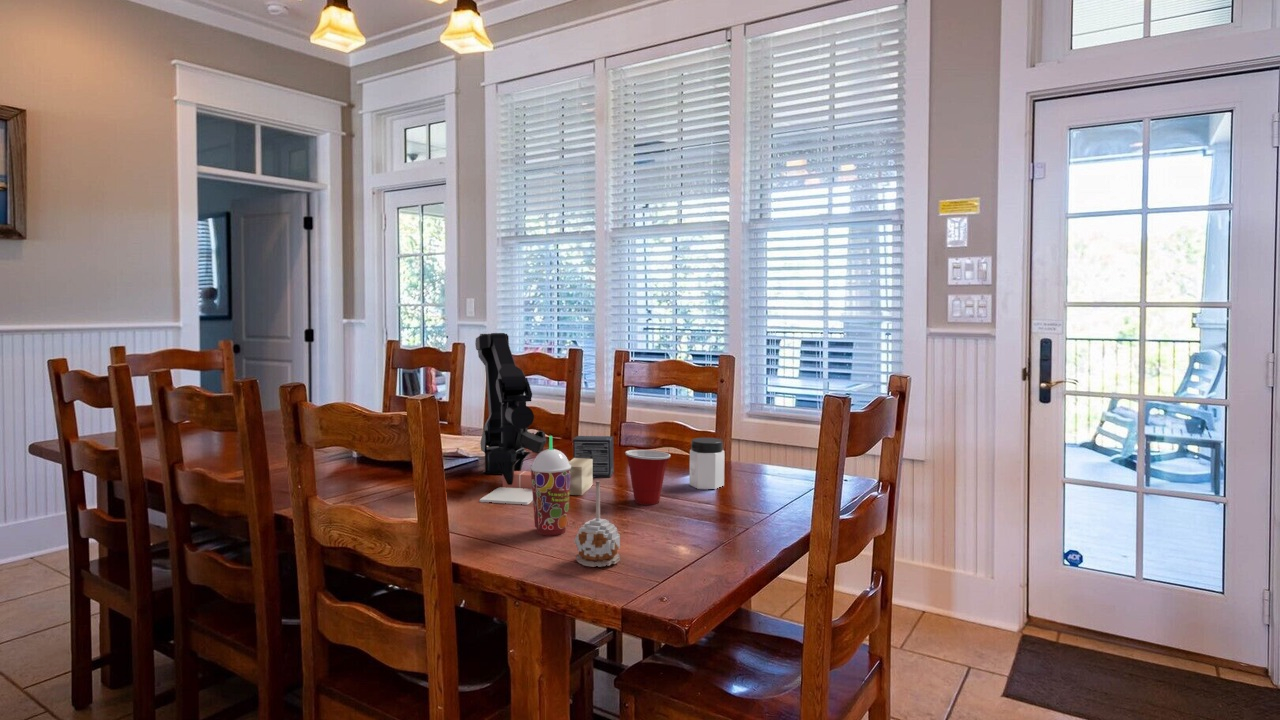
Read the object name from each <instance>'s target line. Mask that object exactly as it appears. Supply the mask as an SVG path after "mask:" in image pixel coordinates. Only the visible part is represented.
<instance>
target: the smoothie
mask: <svg viewBox="0 0 1280 720" xmlns="http://www.w3.org/2000/svg"><path fill="white" fill-rule="evenodd" d="M548 437H549V441H548V446H549V448H547V449H543V451H540V452H539V453H537V455H536V457H535V458H534V460H533V463H532V465H530V467H529V468H530V472H531V478H532V492H533V501H532V505H533V519H534V527H535V528H536V530H537V531H536V532H537V533H538V534H540V535H541V536H547V535H548V536H549V537H550V536H551V537H552V536H558V535H562V534H564V533H565V532H566V528H567V527H568V526H569V509H570V496H571V495H570V477H571V465H570V463H569V461H570V460H569V459H568V457H567V456H566V455H565V453H563V452H562V451H561V450H558V449H555V448H553V447H554V446H553V435H549V436H548Z"/></svg>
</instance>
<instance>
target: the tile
mask: <svg viewBox="0 0 1280 720" xmlns="http://www.w3.org/2000/svg"><path fill="white" fill-rule="evenodd" d="M489 502H492V503H493V504H505V503H506V504H505V505H507V504H508V505H509V504H510V505H521V504H522V505H525V506H528V505H529V504H530V503H533V492H532V489H523V488H506V487H503V486H502V487H501V486H500V487H498V488H497V487H496V489H494V490H493V491H492V490H491V492H490V493H488V494H486V495H484V496H483V497H482V498H481V497H480V498H479V503H489ZM492 503H491V504H492ZM522 505H521V506H522Z"/></svg>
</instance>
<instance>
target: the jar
mask: <svg viewBox="0 0 1280 720" xmlns="http://www.w3.org/2000/svg"><path fill="white" fill-rule="evenodd" d="M690 447H691V448H690V449H689V480H688V481H689V482H688V483H689V486H691V487H693V488H695V489H696V488H697V489H696V490H708V489H715V490H718V489H720V488H719V487H721V488H723V487H725V452H726V451H725V450H724V441H723V440H722V439H721V438H716V437H696V438H693V439H691V443H690ZM722 486H723V487H722ZM717 488H718V489H717Z"/></svg>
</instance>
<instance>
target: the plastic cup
mask: <svg viewBox="0 0 1280 720" xmlns="http://www.w3.org/2000/svg"><path fill="white" fill-rule="evenodd" d="M625 456H626V457H627V463H628V466H629V467H628V468H629V473H630V474H629V475H630V482H631V487H632V493H633V498H634V501H635V503H636V504H639V505H645V506H647V505H655V504H658V503H659V501H660V500H661V493H662V489H663V484H664V479H665V472H666V468H667V464H668V461H669V459H670V458H671V454H670V453H668V452H664V451H659V450H651V449H630V450H626V451H625Z"/></svg>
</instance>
